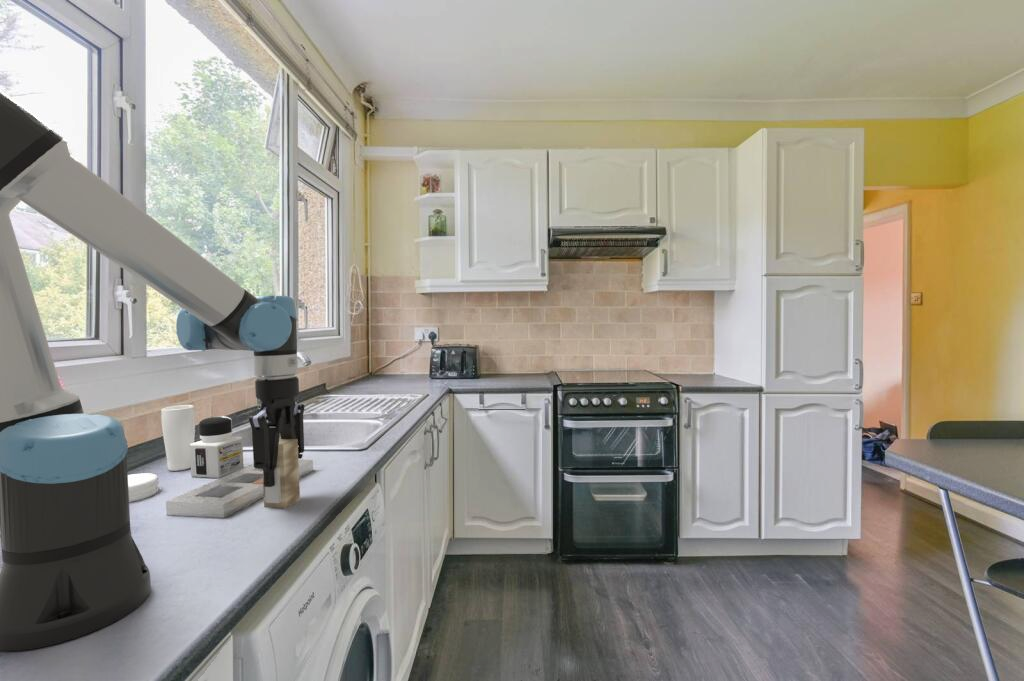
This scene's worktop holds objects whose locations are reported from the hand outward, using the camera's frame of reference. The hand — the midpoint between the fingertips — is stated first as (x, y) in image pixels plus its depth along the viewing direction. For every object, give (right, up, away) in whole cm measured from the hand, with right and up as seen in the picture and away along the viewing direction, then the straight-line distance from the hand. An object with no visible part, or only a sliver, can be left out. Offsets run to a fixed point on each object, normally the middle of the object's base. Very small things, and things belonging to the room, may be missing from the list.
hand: (282, 496), depth 95 cm
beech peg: (0, -1, 0) cm, 1 cm away
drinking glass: (-36, -1, +25) cm, 44 cm away
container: (-25, -1, +21) cm, 32 cm away
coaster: (-34, -2, +6) cm, 35 cm away
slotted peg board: (-11, -1, +8) cm, 13 cm away
